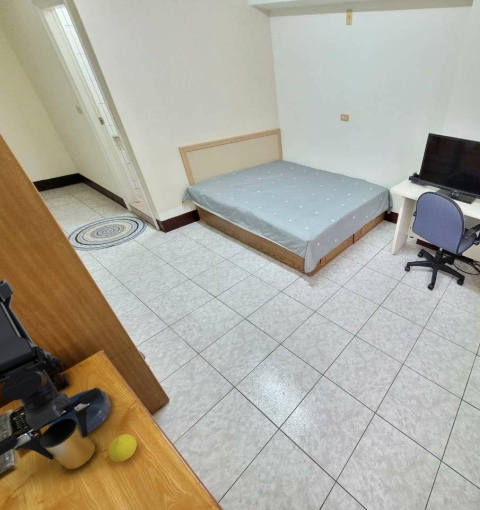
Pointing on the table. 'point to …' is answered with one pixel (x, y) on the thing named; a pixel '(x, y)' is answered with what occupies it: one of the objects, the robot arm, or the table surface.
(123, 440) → the lemon
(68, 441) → the tin
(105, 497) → the table surface
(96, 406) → the dish
